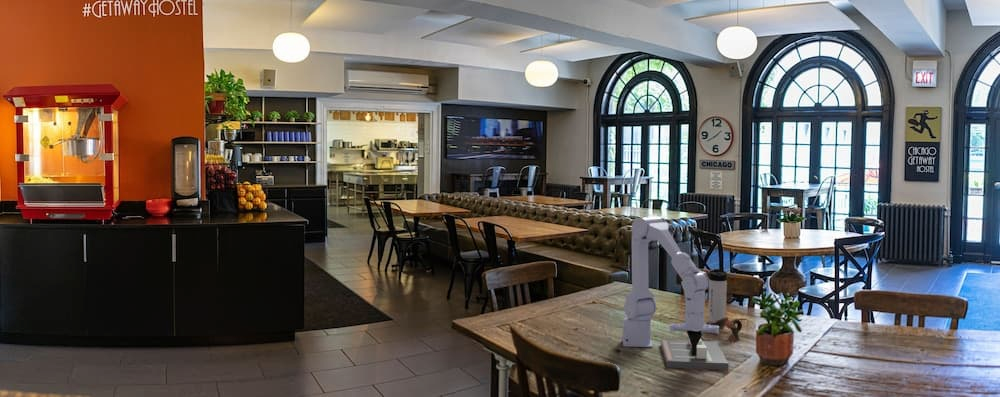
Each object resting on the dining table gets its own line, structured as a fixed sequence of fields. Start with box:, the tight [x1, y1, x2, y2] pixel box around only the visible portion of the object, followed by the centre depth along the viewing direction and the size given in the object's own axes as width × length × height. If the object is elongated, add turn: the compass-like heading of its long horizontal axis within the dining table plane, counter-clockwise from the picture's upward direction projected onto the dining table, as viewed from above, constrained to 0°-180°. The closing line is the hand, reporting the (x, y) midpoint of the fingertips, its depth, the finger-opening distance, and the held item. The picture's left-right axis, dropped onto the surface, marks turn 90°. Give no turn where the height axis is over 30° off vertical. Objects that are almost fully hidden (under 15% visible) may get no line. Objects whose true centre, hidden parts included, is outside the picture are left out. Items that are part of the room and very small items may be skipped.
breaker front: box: [696, 345, 707, 359], centre depth 217 cm, size 3×3×3 cm
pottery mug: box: [709, 316, 743, 343], centre depth 245 cm, size 12×10×8 cm
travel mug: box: [707, 268, 728, 326], centre depth 262 cm, size 6×7×20 cm
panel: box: [660, 339, 729, 371], centre depth 224 cm, size 18×22×2 cm
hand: (693, 354), depth 217 cm, fingers closed
